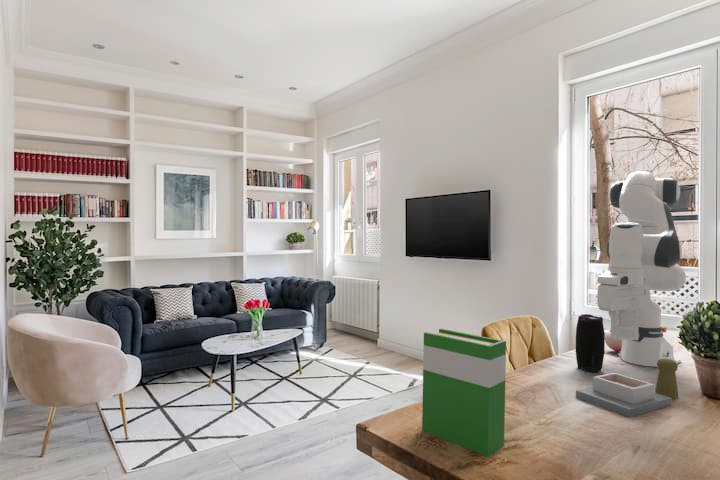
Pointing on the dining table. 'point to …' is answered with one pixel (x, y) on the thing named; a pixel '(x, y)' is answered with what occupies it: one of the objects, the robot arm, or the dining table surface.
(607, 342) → the decorative fruit
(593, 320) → the portable speaker
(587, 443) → the dining table surface
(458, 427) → the hardback book
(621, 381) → the switch box
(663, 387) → the cork
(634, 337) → the skincare box
